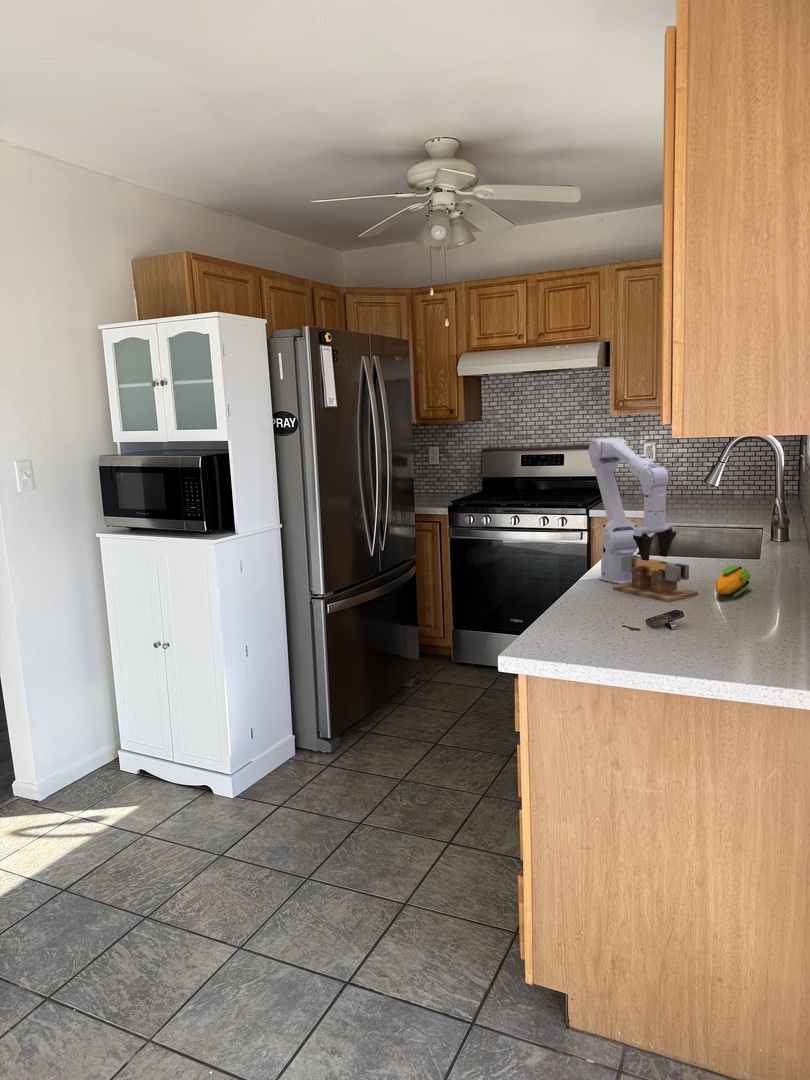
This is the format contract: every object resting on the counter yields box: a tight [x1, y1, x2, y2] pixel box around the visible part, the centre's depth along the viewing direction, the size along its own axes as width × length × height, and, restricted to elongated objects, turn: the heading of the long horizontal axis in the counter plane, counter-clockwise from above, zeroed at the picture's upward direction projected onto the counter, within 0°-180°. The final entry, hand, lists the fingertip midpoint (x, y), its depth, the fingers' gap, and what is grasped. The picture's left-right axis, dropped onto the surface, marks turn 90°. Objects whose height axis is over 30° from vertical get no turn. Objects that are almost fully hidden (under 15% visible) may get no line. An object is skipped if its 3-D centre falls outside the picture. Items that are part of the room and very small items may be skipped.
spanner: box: [621, 554, 690, 583], centre depth 215 cm, size 20×5×4 cm, turn 31°
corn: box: [715, 564, 752, 598], centre depth 210 cm, size 7×8×20 cm
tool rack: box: [612, 567, 699, 603], centre depth 216 cm, size 20×12×7 cm, turn 31°
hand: (654, 558), depth 215 cm, fingers open, 7 cm apart
